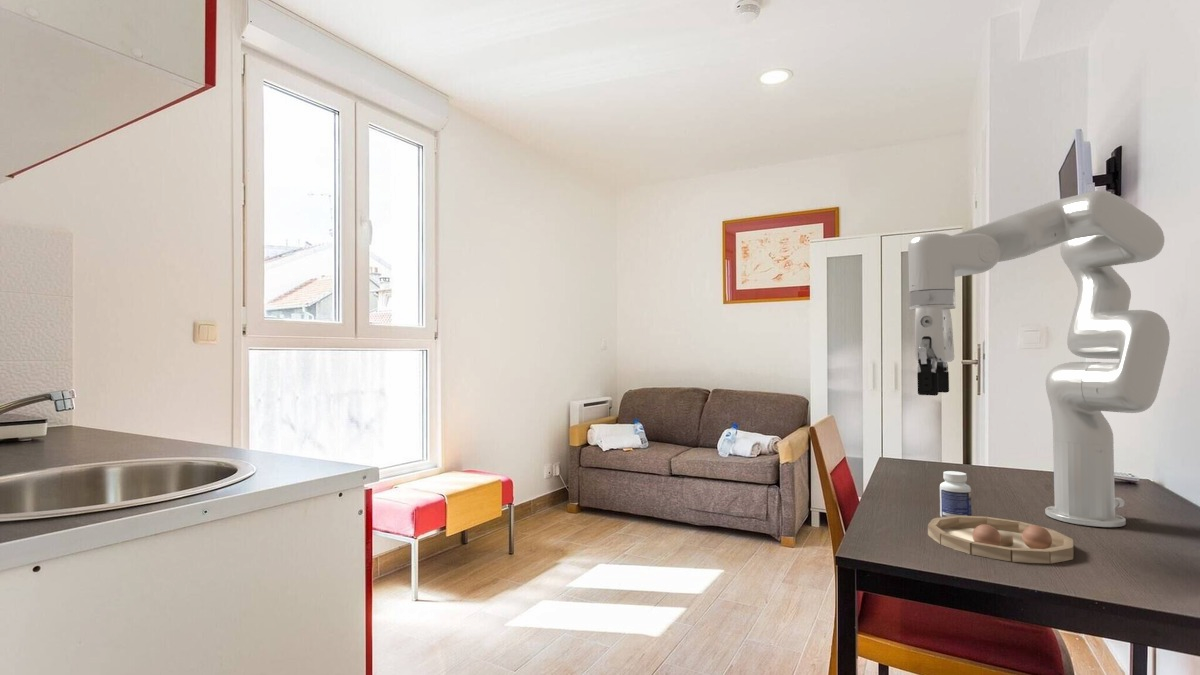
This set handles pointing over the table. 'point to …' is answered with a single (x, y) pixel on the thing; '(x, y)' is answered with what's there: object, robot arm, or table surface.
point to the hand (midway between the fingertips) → (933, 393)
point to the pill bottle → (955, 495)
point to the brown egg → (986, 535)
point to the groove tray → (1012, 546)
